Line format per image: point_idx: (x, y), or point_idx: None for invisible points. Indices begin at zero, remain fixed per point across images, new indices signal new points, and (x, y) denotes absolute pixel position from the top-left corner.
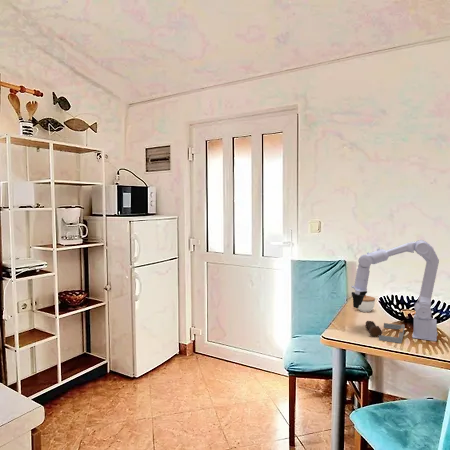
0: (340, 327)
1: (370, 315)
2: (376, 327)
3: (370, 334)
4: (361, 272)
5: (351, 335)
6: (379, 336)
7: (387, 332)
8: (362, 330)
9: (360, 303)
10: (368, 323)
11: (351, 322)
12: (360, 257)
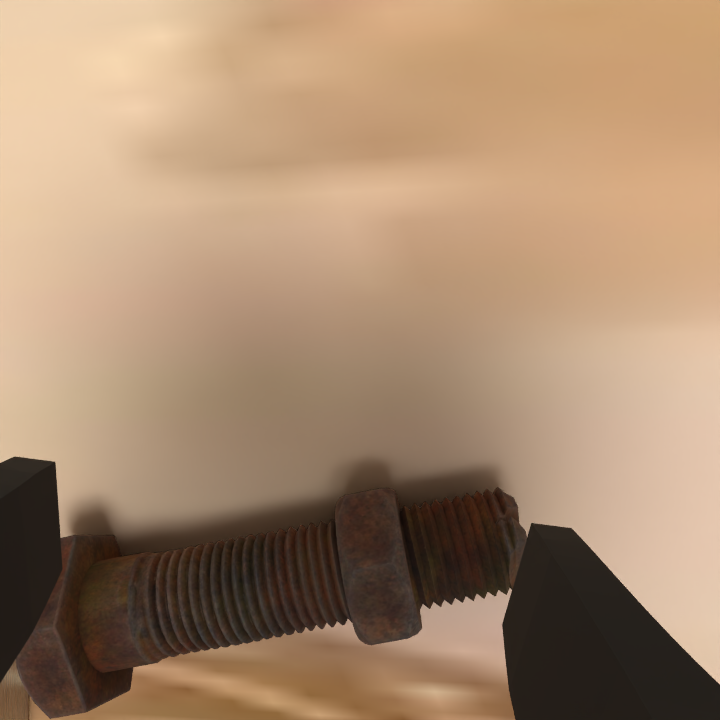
0: (344, 95)
1: None
2: (30, 680)
3: (94, 536)
4: None
5: (12, 289)
6: None
7: (348, 710)
8: (314, 429)
9: (515, 659)
10: (338, 559)
11: (697, 258)
12: None
